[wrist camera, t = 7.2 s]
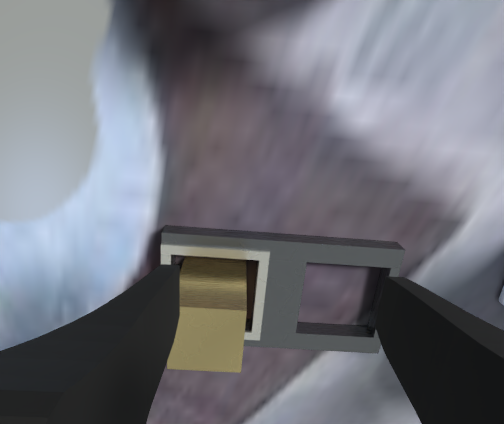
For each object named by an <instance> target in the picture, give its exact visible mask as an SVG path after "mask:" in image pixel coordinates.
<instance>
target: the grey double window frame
mask: <svg viewBox="0 0 504 424" xmlns="http://www.w3.org/2000/svg"><path fill="white" fill-rule="evenodd" d="M404 253H405V249H404V248H403V247H402V246H400V245H399V244H398V243H397V242H389V241H375V240H362V239H348V238H334V237H320V236H306V235H293V234H279V233H265V232H251V231H237V230H224V229H210V228H196V227H182V226H168V225H166V226H165V228H164V229H163V231H162V243H161V264H167V265H175V255H187V256H202V257H216V258H231V259H246V260H257V269H256V278H255V288H254V298H253V307H252V317H251V319H246V325H245V335H244V345H243V346H254V347H272V348H290V349H308V350H326V351H344V352H362V353H378V352H379V348H380V344H381V342H380V339H379V336H378V333H377V330H376V327H375V321H376V317H377V313H378V308H379V304H380V300H381V295H382V291H383V286H384V282H385V278H386V276H389V277H398V276H399V272H400V268H401V264H402V260H403V257H404ZM307 262H311V263H326V264H340V265H355V266H370V267H382V268H381V272H380V277H379V281H378V285H377V289H376V293H375V297H374V301H373V306H372V310H371V314H370V318H369V322H368V326H354V325H337V324H320V323H303V322H298V315H299V309H300V303H301V296H302V290H303V284H304V277H305V271H306V265H307Z"/></svg>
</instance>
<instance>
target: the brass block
mask: <svg viewBox="0 0 504 424" xmlns="http://www.w3.org/2000/svg"><path fill="white" fill-rule="evenodd" d="M246 314H247V286H246V261H244V260H229V259H215V258H200V257H185V259H184V262H183V265H182V268H181V270H180V317H179V321H178V326H177V331H176V335H175V339H174V343H173V346H172V349H171V352H170V354H169V357H168V360H167V369H180V370H200V371H220V372H239V373H241V366H242V356H243V345H244V335H245V325H246Z"/></svg>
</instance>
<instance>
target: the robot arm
mask: <svg viewBox="0 0 504 424" xmlns="http://www.w3.org/2000/svg"><path fill="white" fill-rule="evenodd" d="M499 302H500V303H501V304H502V305H504V287H503V289H502V292H501V294H500V297H499ZM179 317H180V265H167V264H161V265H160V266H158V267H157V268H156V269H154V270H153V271H152V272H150V273H149V274H148V275H147V276H145V277H144V278H143V279H141V280H140V281H139V282H137V283H136V284H134V285H133V286H132V287H130V288H129V289H128V290H126V291H125V292H123V293H122V294H120V295H118V296H117V297H115V298H114V299H112V300H111V301H109V302H108V303H106V304H105V305H103V306H101V307H100V308H98V309H96V310H94V311H93V312H91V313H89V314H87V315H85V316H83V317H81V318H79V319H78V320H76V321H74V322H72V323H70V324H67V325H65V326H63V327H60V328H58V329H56V330H54V331H51V332H49V333H47V334H45V335H42V336H40V337H38V338H35V339H32V340H30V341H27V342H24V343H22V344H19V345H16V346H14V347H11V348H8V349H5V350H2V351H0V424H146V421H147V418H148V414H149V411H150V408H151V405H152V402H153V399H154V396H155V393H156V391H157V388H158V385H159V382H160V380H161V377H162V374H163V371H164V368H165V366H166V363H167V360H168V357H169V354H170V352H171V349H172V346H173V343H174V339H175V335H176V331H177V326H178V321H179ZM375 327H376V330H377V333H378V336H379V339H380V342H381V345H382V347H383V350H384V352H385V354H386V356H387V358H388V360H389V362H390V364H391V366H392V368H393V370H394V372H395V373H396V375H397V377H398V379H399V381H400V383H401V385H402V387H403V388H404V390H405V392H406V394H407V396H408V398H409V400H410V402H411V403H412V405H413V407H414V409H415V411H416V413H417V415H418V417H419V419H420V421H421V423H422V424H504V331H503V330H501V329H499V328H497V327H495V326H493V325H491V324H489V323H487V322H485V321H483V320H481V319H479V318H477V317H475V316H474V315H472V314H470V313H468V312H466V311H464V310H463V309H461V308H459V307H457V306H455V305H454V304H452V303H450V302H448V301H447V300H445V299H443V298H441V297H440V296H438V295H436V294H434V293H433V292H431V291H429V290H427V289H426V288H424V287H422V286H420V285H418V284H416V283H414V282H412V281H410V280H408V279H406V278H404V277H389V276H386V278H385V282H384V286H383V291H382V295H381V300H380V304H379V308H378V313H377V317H376V321H375Z"/></svg>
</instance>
